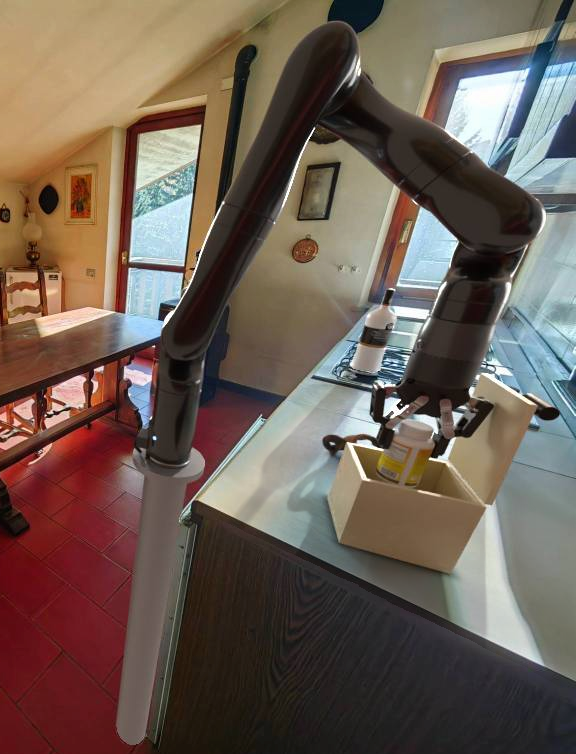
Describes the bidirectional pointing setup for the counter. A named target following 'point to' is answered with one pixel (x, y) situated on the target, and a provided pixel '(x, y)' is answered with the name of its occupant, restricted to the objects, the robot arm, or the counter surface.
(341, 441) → the dark brown curved piece
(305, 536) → the counter surface
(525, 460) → the counter surface
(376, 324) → the vodka
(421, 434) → the supplement bottle
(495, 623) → the counter surface
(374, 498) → the wooden keepsake chest
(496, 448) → the chest lid
